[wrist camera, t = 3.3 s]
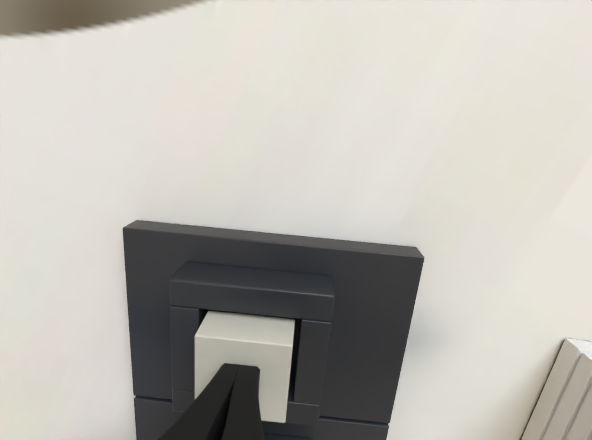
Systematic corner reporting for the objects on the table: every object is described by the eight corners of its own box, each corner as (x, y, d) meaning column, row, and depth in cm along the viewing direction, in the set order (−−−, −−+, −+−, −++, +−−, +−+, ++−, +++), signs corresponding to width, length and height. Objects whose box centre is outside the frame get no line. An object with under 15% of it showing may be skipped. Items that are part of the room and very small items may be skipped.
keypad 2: (144, 378, 18) (113, 426, 15) (136, 220, 16) (96, 242, 13) (385, 404, 18) (398, 458, 15) (416, 246, 15) (440, 276, 12)
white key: (207, 381, 15) (194, 414, 13) (208, 309, 14) (193, 335, 12) (288, 389, 15) (285, 424, 13) (295, 318, 14) (292, 345, 12)
